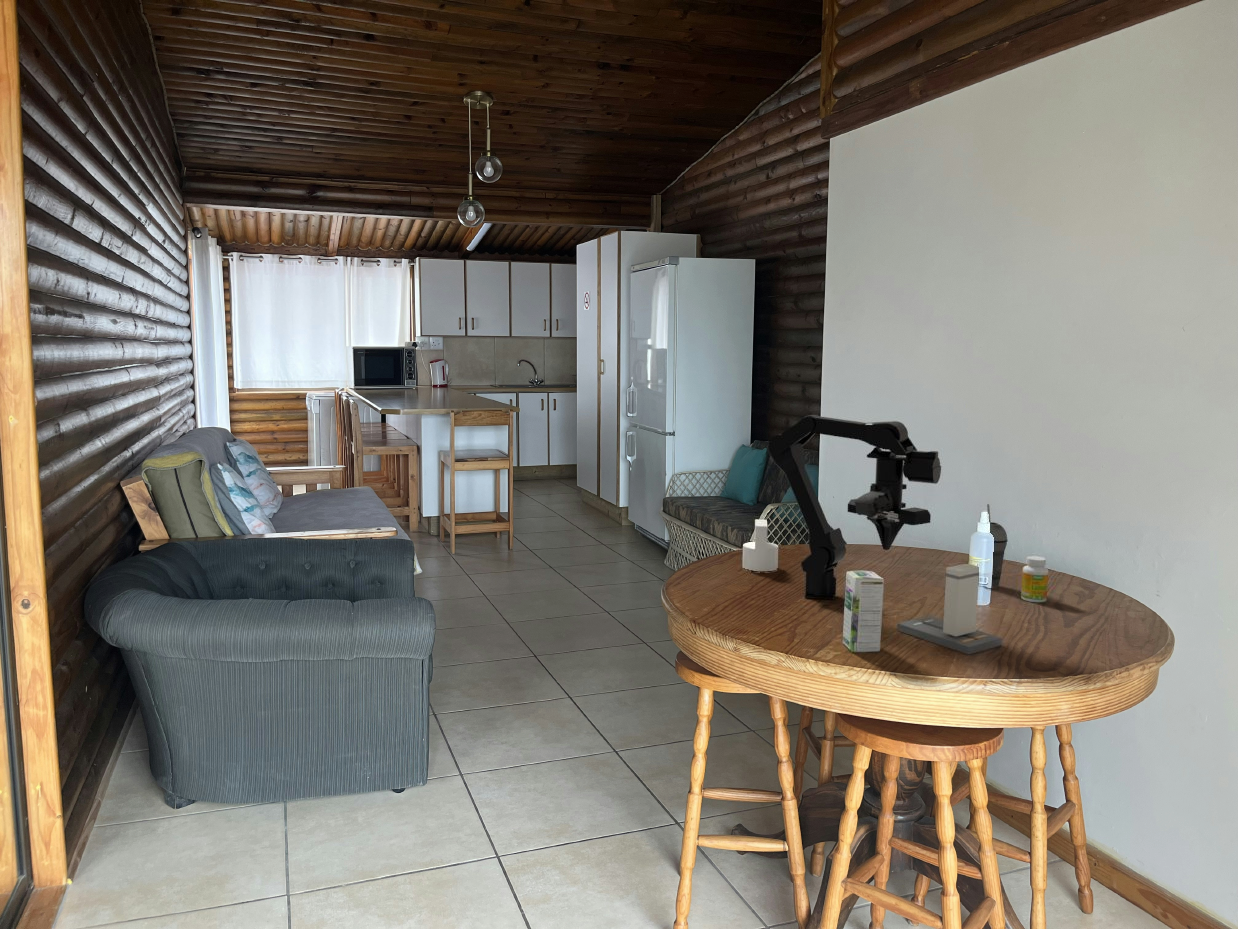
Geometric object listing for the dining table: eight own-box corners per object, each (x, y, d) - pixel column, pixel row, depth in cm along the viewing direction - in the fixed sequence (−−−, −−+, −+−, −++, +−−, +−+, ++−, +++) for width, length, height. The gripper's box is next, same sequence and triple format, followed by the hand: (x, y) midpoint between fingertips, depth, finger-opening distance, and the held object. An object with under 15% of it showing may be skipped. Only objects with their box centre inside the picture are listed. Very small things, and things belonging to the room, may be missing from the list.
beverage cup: (1007, 590, 215) (1013, 507, 212) (975, 589, 216) (980, 506, 213) (1001, 582, 222) (1006, 502, 219) (969, 581, 223) (974, 501, 220)
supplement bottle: (1030, 603, 204) (1033, 561, 203) (1015, 596, 210) (1018, 555, 208) (1051, 602, 205) (1054, 560, 204) (1036, 595, 211) (1039, 554, 209)
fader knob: (942, 632, 178) (946, 567, 176) (962, 627, 181) (966, 563, 179) (956, 636, 175) (959, 571, 173) (975, 631, 178) (979, 566, 176)
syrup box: (841, 643, 177) (844, 570, 175) (871, 642, 177) (874, 570, 175) (851, 653, 171) (854, 578, 169) (881, 652, 172) (885, 577, 170)
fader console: (897, 630, 185) (897, 623, 184) (929, 622, 190) (929, 615, 190) (968, 654, 170) (969, 646, 170) (1001, 645, 176) (1002, 637, 176)
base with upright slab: (742, 563, 240) (743, 518, 239) (777, 564, 239) (778, 520, 237) (742, 571, 232) (743, 525, 230) (778, 573, 230) (779, 526, 229)
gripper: (831, 477, 201) (828, 546, 203) (898, 488, 185) (894, 563, 187) (866, 473, 207) (863, 540, 209) (933, 484, 191) (930, 556, 193)
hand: (886, 549), depth 199 cm, fingers closed
